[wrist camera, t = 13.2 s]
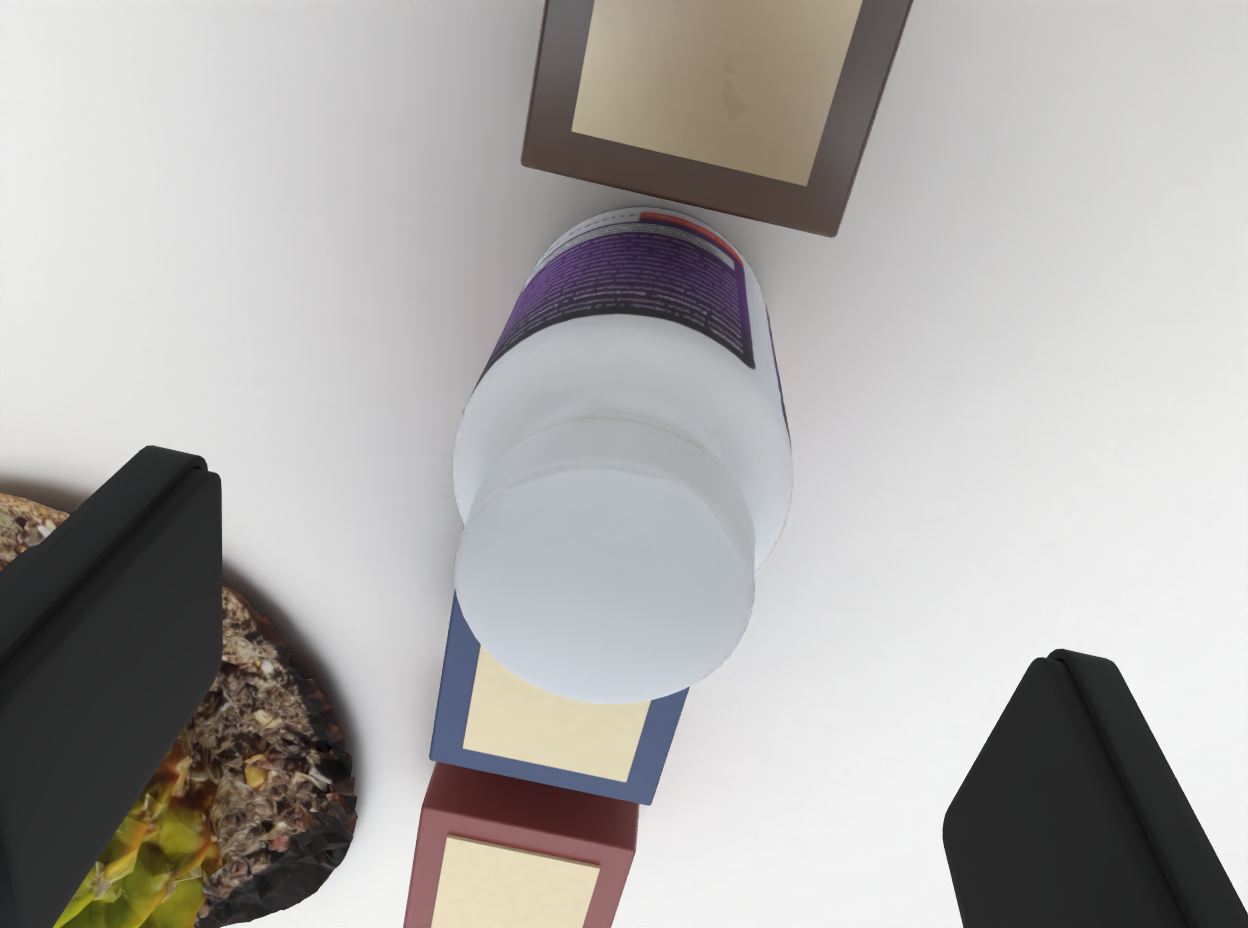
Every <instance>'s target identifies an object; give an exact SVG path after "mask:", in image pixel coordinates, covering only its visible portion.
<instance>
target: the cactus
mask: <svg viewBox="0 0 1248 928" xmlns="http://www.w3.org/2000/svg"><path fill="white" fill-rule="evenodd" d="M70 515H71V513H69V512H62V511H59V510H56V509H53V508H50V507H47V506H45V505H42V504H39V503H37V502H34V501H31V500H29V499H26V498H23V497H18V496H13V495H9V494H4V493H0V571H1V570H2V569H3V568H4V567H5V566H7V565H8V564H9V563H10V562H11V561H12V560H13V559H14V558H15V557H16V556H18V555H19V554H20V553H22V552H23V551H25V550H26V549H27V548H29V547H30V546H34V545H38V544H40V543H41V542H42V541H43V540H44V539H45V538H46V537H47V536H48V535H49V534H50V533H52V532H53V531H54V530H55V529H56V528H57V527H58V526H59V525H60V524H61V523H62V522H63V521H65V520H66V519H67V518H68V517H69V516H70ZM222 610H223V655H222V661H221V666H220V669H219V672H218V675H217V677H216V679H215V681H214V683H213V685H212V687H211V688H210V690H209V691H208V693H207V694H206V696H205V697H204V699H203V700H202V702H201V703H200V705H199V706H198V708H197V709H196V711H195V712H194V714H193V715H192V717H191V718H190V720H189V721H188V723H187V725H186V726H185V728H184V729H183V731H182V732H181V734H180V735H179V737H178V738H177V740H176V741H175V743H174V744H173V746H172V747H171V749H170V750H169V752H168V753H167V755H166V756H165V758H164V759H163V761H162V762H161V764H160V766H159V767H158V769H157V770H156V772H155V773H154V775H153V776H152V778H151V779H150V781H149V782H148V784H147V785H146V787H145V788H144V790H143V791H142V793H141V794H140V796H139V797H138V799H137V800H136V802H135V803H134V805H133V807H132V808H131V810H130V811H129V813H128V814H127V816H126V817H125V819H124V820H123V822H122V823H121V825H120V826H119V828H118V829H117V831H116V832H115V834H114V835H113V837H112V838H111V840H110V841H109V843H108V845H107V846H106V848H105V849H104V851H103V852H102V854H101V855H100V857H99V858H98V860H97V861H96V863H95V864H94V866H93V867H92V869H91V870H90V872H89V873H88V875H87V876H86V878H85V879H84V881H83V882H82V884H81V886H80V887H79V889H78V890H77V892H76V893H75V895H74V896H73V898H72V899H71V901H70V902H69V904H68V905H67V907H66V908H65V910H64V911H63V913H62V914H61V916H60V917H59V919H58V920H57V922H56V923H55V925H54V927H53V928H220V927H223V926H227V925H231V924H236V923H243V922H250V921H252V920H254V919H258V918H261V917H264V916H266V915H269V914H271V913H275V912H277V911H279V910H285V909H287V908H290V907H292V906H294V905H295V904H297V903H300V902H301V901H302V900H304V899H306V898H308V897H309V896H311V895H312V894H314V893H315V892H317V891H318V889H319V888H320V887H321V886H322V885H323V883H324V882H325V881H326V880H327V879H328V877H329V876H330V874H331V873H332V872H333V870H334V869H335V868H337V867H338V866H339V865H340V864H341V862H342V861H343V859H344V858H345V856H346V853H347V851H348V849H349V846H350V843H351V841H352V839H353V835H354V829H355V825H356V820H357V817H358V816H357V814H356V811H355V805H356V801H357V796H355V794H354V784H355V778H354V777H353V778H351V774H352V759H351V755H349V754H348V753H346V751H345V744H344V739H343V737H342V735H341V732H340V731H339V728H338V727H336V726H334V725H333V722H332V717H333V709H334V708H333V707H331V706H330V705H328V704H327V703H326V699H325V695H324V694H322V693H321V692H320V691H319V689H318V686H317V684H316V682H315V681H314V680H313V679H302V678H301V676H300V674H299V672H298V670H297V668H296V667H294V668H292V667H291V666H290V661H289V654H290V650H289V649H288V647H287V646H286V644H285V642H284V641H283V639H282V637H281V636H280V634H279V632H278V631H276V630H275V629H274V628H273V626H272V624H271V622H270V621H269V620H268V619H267V618H265V617H262V616H261V615H260V613H259V612H258V611H257V610H256V609H255V608H254V607H253V606H252V605H251V604H250V603H249V601H248V600H247V599H246V598H245V597H244V596H243V595H242V594H240V593H238V592H237V591H235V590H232V589H230V588H227V587H224V586H223V585H222Z"/></svg>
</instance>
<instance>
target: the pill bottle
mask: <svg viewBox="0 0 1248 928" xmlns="http://www.w3.org/2000/svg"><path fill="white" fill-rule="evenodd" d="M452 472H453V486H454V494H455V498H456V502H457V506H458V510H459V513H460V516H461V519H462V521H463V524H464V526H465V527H464V529H463V532H462V534H461V538H460V541H459V545H458V549H457V553H456V557H455V567H454V572H455V589H456V595H457V599H458V602H459V605H460V607H461V610H462V613H463V616H464V618H465V620H466V622H467V623H468V625H469V627H470V629H471V631H472V632H473V634H474V636H475V638H476V639H477V640H478V641H479V643H480V644H481V645H482V646H483V647H484V649H485V650H486V651H487V652H488V653H489V654H490V655H491V656H492V657H493V658H494V659H495V660H496V661H497V662H498V663H499V664H500V665H502V666H503V667H504V668H506V669H507V670H508V671H510V672H511V673H513V674H514V675H516V676H518V677H519V678H521V679H522V680H524V681H526V682H528V683H530V684H531V685H533V686H535V687H537V688H540V689H543V690H545V691H548V692H550V693H553V694H555V695H558V696H562V697H565V698H569V699H573V700H577V701H584V702H591V703H597V704H628V703H638V702H644V701H649V700H654V699H657V698H661V697H665V696H668V695H671V694H673V693H676V692H678V691H681V690H683V689H685V688H687V687H689V686H691V685H693V684H695V683H696V682H698V681H700V680H702V679H704V678H705V677H706V676H707V675H709V674H710V673H711V672H713V671H714V670H715V669H716V668H718V667H719V666H720V665H721V664H722V663H723V662H724V661H725V660H726V659H727V657H728V656H729V655H730V654H731V653H732V651H733V650H734V649H735V647H736V646H737V644H738V643H739V641H740V639H741V637H742V635H743V633H744V631H745V629H746V626H747V624H748V621H749V619H750V616H751V612H752V607H753V602H754V591H755V579H754V578H755V573H756V571H757V570H758V569H759V568H760V566H761V565H762V564H763V562H764V561H765V560H766V559H767V557H768V556H769V554H770V553H771V551H772V549H773V548H774V546H775V544H776V542H777V541H778V539H779V536H780V534H781V532H782V530H783V527H784V525H785V521H786V518H787V515H788V511H789V506H790V502H791V494H792V486H793V466H792V456H791V442H790V435H789V429H788V424H787V418H786V413H785V406H784V403H783V396H782V389H781V383H780V377H779V373H778V368H777V362H776V357H775V351H774V345H773V339H772V333H771V327H770V320H769V315H768V311H767V307H766V304H765V300H764V297H763V294H762V291H761V288H760V285H759V283H758V281H757V279H756V277H755V275H754V273H753V271H752V269H751V267H750V266H749V264H748V263H747V261H746V260H745V259H744V257H743V256H742V255H741V254H740V253H739V251H738V250H737V249H736V248H735V247H734V246H733V245H732V244H731V243H730V242H729V241H728V240H727V239H726V238H724V237H723V236H722V235H721V234H719V233H718V232H717V231H715V230H714V229H713V228H711V227H709V226H708V225H706V224H704V223H702V222H701V221H698V220H696V219H694V218H692V217H690V216H687V215H684V214H681V213H679V212H674V211H670V210H666V209H659V208H653V207H631V208H623V209H618V210H613V211H609V212H605V213H602V214H599V215H596V216H594V217H591V218H589V219H587V220H585V221H583V222H581V223H579V224H578V225H576V226H574V227H573V228H571V229H570V230H568V231H567V232H565V233H564V234H563V235H562V236H561V237H559V238H558V239H557V240H556V241H555V242H554V243H553V244H552V245H551V246H550V247H549V248H548V249H547V251H546V252H545V253H544V254H543V256H542V257H541V258H540V260H539V261H538V263H537V264H536V266H535V267H534V269H533V270H532V272H531V274H530V275H529V277H528V278H527V281H526V283H525V285H524V287H523V289H522V291H521V294H520V296H519V298H518V300H517V302H516V304H515V306H514V309H513V311H512V313H511V315H510V317H509V319H508V321H507V323H506V325H505V328H504V330H503V332H502V334H501V336H500V338H499V340H498V342H497V344H496V346H495V348H494V350H493V353H492V355H491V357H490V359H489V361H488V363H487V365H486V367H485V369H484V371H483V373H482V375H481V377H480V379H479V380H478V382H477V384H476V386H475V388H474V390H473V392H472V394H471V396H470V398H469V400H468V402H467V405H466V407H465V409H464V411H463V415H462V418H461V421H460V423H459V425H458V430H457V434H456V438H455V443H454V452H453V459H452Z"/></svg>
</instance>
